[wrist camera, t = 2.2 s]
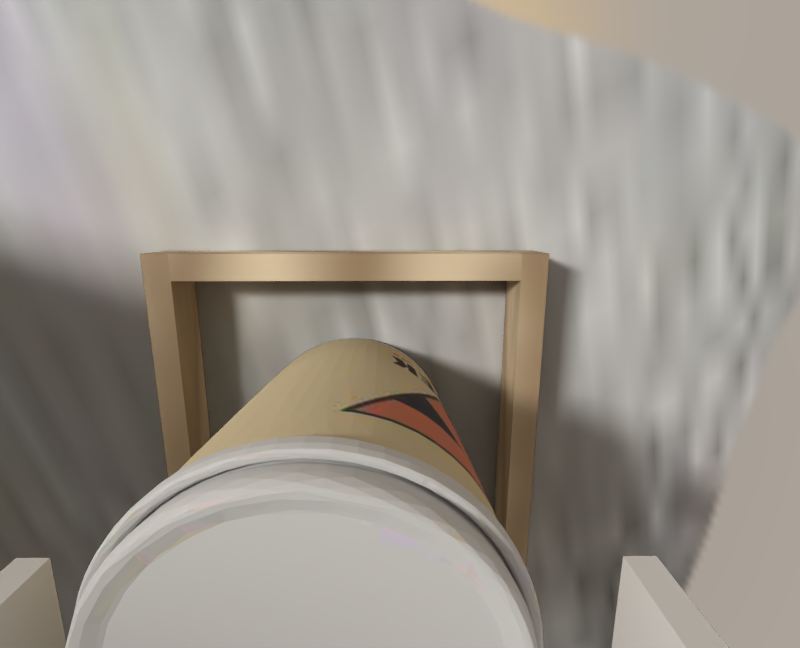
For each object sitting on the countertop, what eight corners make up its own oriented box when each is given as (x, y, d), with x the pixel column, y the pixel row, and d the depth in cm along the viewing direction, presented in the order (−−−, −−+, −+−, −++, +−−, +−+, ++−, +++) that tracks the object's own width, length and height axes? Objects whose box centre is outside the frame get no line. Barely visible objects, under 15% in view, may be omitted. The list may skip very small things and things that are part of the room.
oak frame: (202, 566, 21) (183, 600, 19) (167, 250, 18) (140, 253, 16) (512, 561, 22) (524, 594, 20) (532, 250, 18) (549, 253, 16)
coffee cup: (487, 470, 21) (617, 796, 9) (303, 538, 21) (194, 929, 9) (414, 284, 19) (454, 386, 7) (213, 365, 19) (-67, 585, 7)
